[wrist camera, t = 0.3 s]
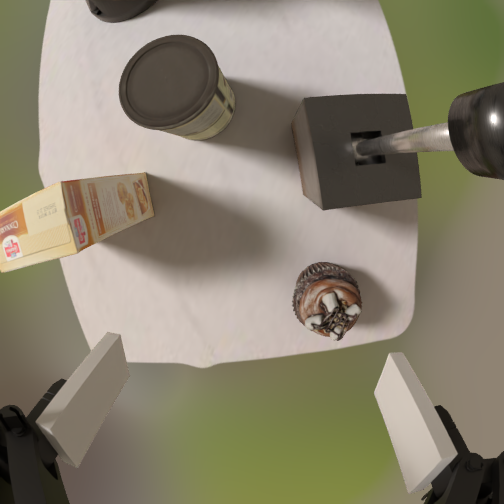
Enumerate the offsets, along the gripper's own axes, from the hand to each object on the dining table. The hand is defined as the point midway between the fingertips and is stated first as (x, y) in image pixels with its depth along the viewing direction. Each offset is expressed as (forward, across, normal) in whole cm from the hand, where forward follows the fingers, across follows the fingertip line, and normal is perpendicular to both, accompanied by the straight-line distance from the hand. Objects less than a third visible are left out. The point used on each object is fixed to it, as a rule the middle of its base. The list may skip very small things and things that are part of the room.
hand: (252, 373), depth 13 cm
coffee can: (+30, -10, +17) cm, 36 cm away
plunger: (+17, +9, +12) cm, 22 cm away
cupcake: (+29, +9, -8) cm, 32 cm away
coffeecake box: (+30, -24, +3) cm, 38 cm away
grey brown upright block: (+29, +9, +11) cm, 33 cm away
